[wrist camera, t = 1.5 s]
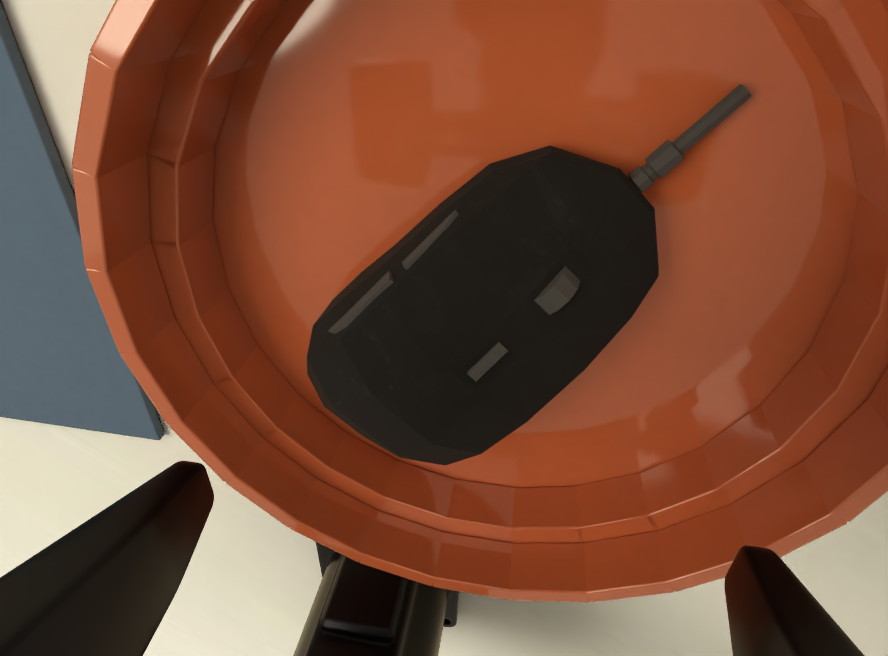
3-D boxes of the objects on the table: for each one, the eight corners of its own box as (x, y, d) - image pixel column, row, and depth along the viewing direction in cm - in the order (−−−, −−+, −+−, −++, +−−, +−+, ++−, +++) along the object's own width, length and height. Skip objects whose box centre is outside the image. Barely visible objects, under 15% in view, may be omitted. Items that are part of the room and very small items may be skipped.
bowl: (750, 539, 21) (787, 649, 17) (246, 463, 23) (194, 546, 20) (1155, -195, 9) (1488, -280, 6) (69, -181, 12) (-118, -234, 8)
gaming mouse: (818, 187, 13) (906, 265, 10) (417, 452, 21) (390, 545, 17) (657, -28, 11) (697, -21, 8) (281, 347, 19) (224, 430, 16)
